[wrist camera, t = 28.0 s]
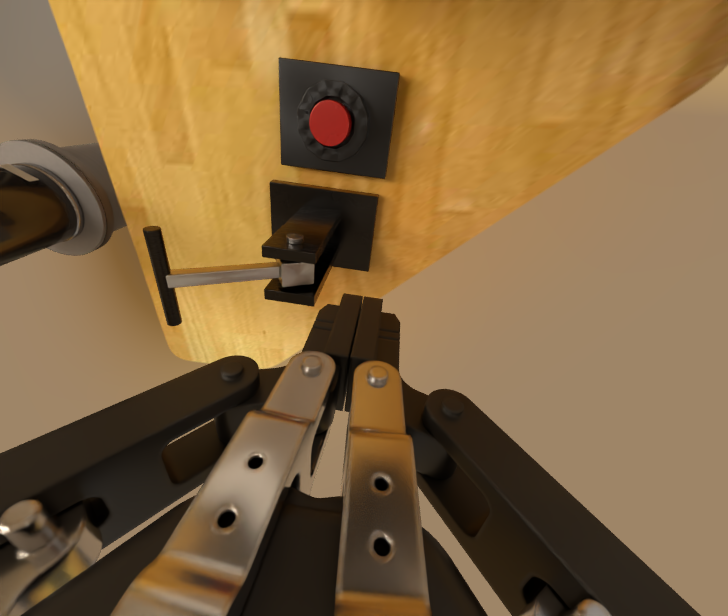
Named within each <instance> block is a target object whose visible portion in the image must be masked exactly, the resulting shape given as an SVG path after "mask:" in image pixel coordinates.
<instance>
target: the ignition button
mask: <svg viewBox="0 0 728 616" xmlns="http://www.w3.org/2000/svg"><path fill="white" fill-rule="evenodd" d="M309 125H310V130H311V133H312V135H313V136H314V138H315V139H316V140H317V141H318V142H319V143H321V144H323V145H325V146H336V145H338V144H340V143H342V142H343V141H345V140H346V139H347V137H348V136H349V134H350V131H351V127H352V120H351V116H350V113H349V111H348V109H347V108H346V107H345V106H344V105H343V104H342V103H340V102H338V101H335V100H323V101H321V102H319V103H317V104H316V105H315V106H314V108H313V109H312V111H311V114H310V118H309Z"/></svg>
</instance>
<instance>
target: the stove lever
mask: <svg viewBox="0 0 728 616" xmlns="http://www.w3.org/2000/svg"><path fill="white" fill-rule="evenodd" d="M143 233H144V236H145V240H146V244H147V248H148V252H149V256H150V259H151V263H152V267H153V271H154V275H155V279H156V283H157V286H158V290H159V294H160V298H161V302H162V306H163V309H164V313H165V317H166V321H167V324H168V325H169V326H176V325H179V324H181V322H182V318H181V314H180V310H179V305H178V301H177V297H176V292H175V288H176V287H187V286H198V285H208V284H219V283H230V282H240V281H251V280H262V279H272V278H278V279H279V281H280V283H281V285H282V287H290V286H299V285H309V284H314V264H308V263H301V262H294V261H288V260H281V259H276V262H270V263H257V264H244V265H230V266H217V267H203V268H190V269H176V270H170V266H169V262H168V257H167V253H166V249H165V244H164V240H163V235H162V231H161V228H160V227H158V226H148V227H145V228H143Z"/></svg>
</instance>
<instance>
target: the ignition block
mask: <svg viewBox="0 0 728 616" xmlns="http://www.w3.org/2000/svg"><path fill="white" fill-rule="evenodd" d="M399 77H400V74H399V73H398V72H390V71H382V70H374V69H366V68H359V67H351V66H343V65H335V64H327V63H319V62H311V61H303V60H295V59H288V58H279V92H280V134H281V164H282V165H288V166H295V167H303V168H310V169H317V170H324V171H332V172H339V173H346V174H353V175H361V176H368V177H375V178H382V179H385V177H386V172H387V165H388V157H389V150H390V143H391V136H392V128H393V121H394V114H395V107H396V99H397V92H398V85H399ZM323 100H335V101H338V102H340V103H342V104H343V105H344V106H345V107H346V108H347V109H348V111H349V113H350V116H351V120H352V127H351V131H350V134H349V136H348V137H347V139H346V140H345V141H343V142H342V143H340V144H338V145H336V146H325V145H323V144H321V143H319V142H318V141H317V140H316V139H315V138H314V136H313V135H312V133H311V130H310V125H309V118H310V114H311V111H312V109H313V108H314V106H315V105H316V104H317V103H319V102H321V101H323Z"/></svg>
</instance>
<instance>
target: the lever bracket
mask: <svg viewBox="0 0 728 616" xmlns="http://www.w3.org/2000/svg"><path fill="white" fill-rule="evenodd" d="M378 197H379V195H378V194H371V193H364V192H356V191H349V190H342V189H335V188H328V187H321V186H314V185H306V184H299V183H292V182H285V181H278V180H272V181H271V182H270V200H271V223H272V236H271V237H270V238H269V239H268V240H267V241H266V242H265V243H264V244H263V245H262V257H267V258H274V259H281V260H288V261H294V262H301V263H308V264H314V284H309V285H299V286H290V287H282V285H281V283H280V281H279V279H278V278H273V279H272V280H271V281H270V283H269V284H268V285H267V286H266V288H265V289H264V294H265V299H268V300H275V301H281V302H288V303H294V304H301V305H307V306H314V305H315V303H316V301H317V298H318V296H319V294H320V292H321V290H322V288H323V285H324V283H325V281H326V279H327V277H328V275H329V272H330V270H331V268H332V266H334V267H341V268H348V269H354V270H361V271H369V266H370V259H371V251H372V243H373V236H374V228H375V220H376V213H377V205H378Z"/></svg>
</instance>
